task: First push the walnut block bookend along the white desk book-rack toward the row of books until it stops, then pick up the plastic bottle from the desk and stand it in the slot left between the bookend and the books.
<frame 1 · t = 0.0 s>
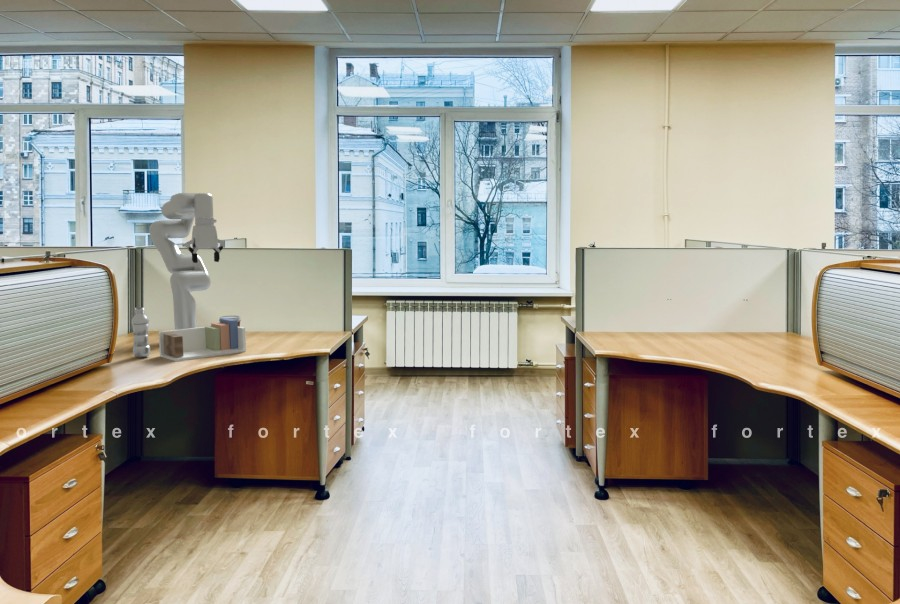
hand: (206, 262, 307), 37 cm above the table, tool pointing down, fingers open, 9 cm apart
bookend: (173, 345, 283), point 5 cm above the table, slide at 0.0 cm
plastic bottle: (142, 357, 286), on the table
disposable coffee cup: (231, 343, 318), on the table
shelf: (203, 353, 293), on the table
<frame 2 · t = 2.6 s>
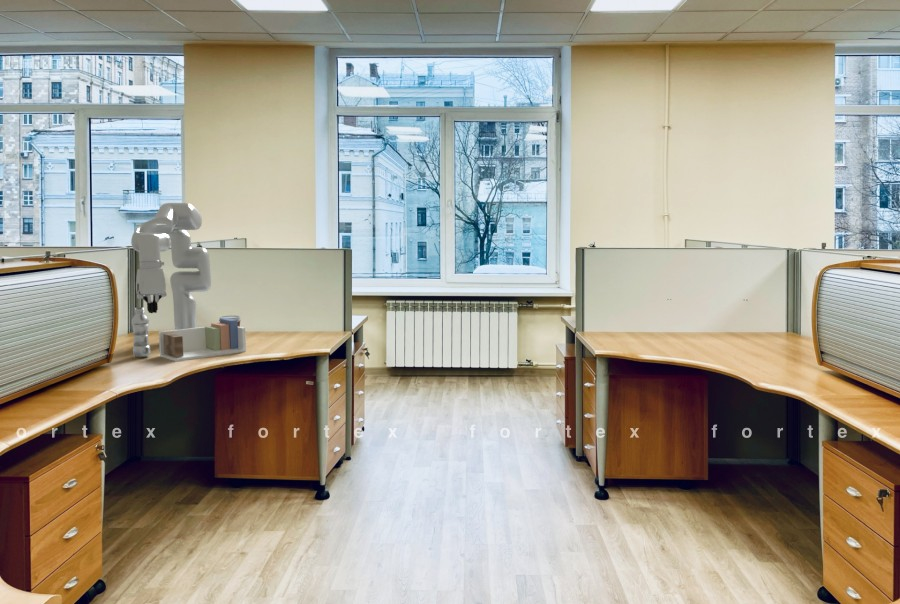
hand: (152, 312, 276), 19 cm above the table, tool pointing down, fingers closed
nothing on the table moved.
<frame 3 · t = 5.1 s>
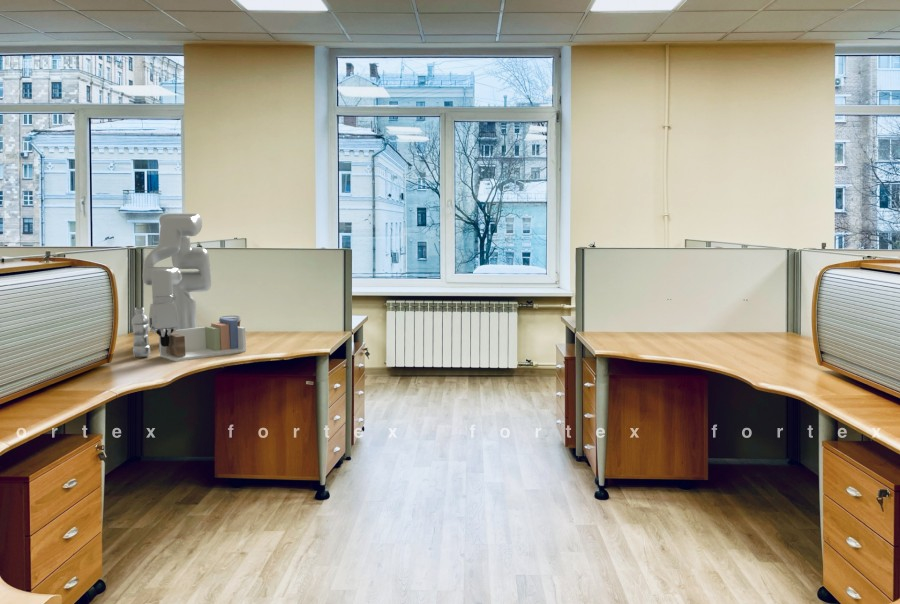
hand: (165, 346, 281), 5 cm above the table, tool pointing down, fingers closed
bookend: (175, 344, 284), point 5 cm above the table, slide at 0.8 cm, touching gripper
everything else where it was.
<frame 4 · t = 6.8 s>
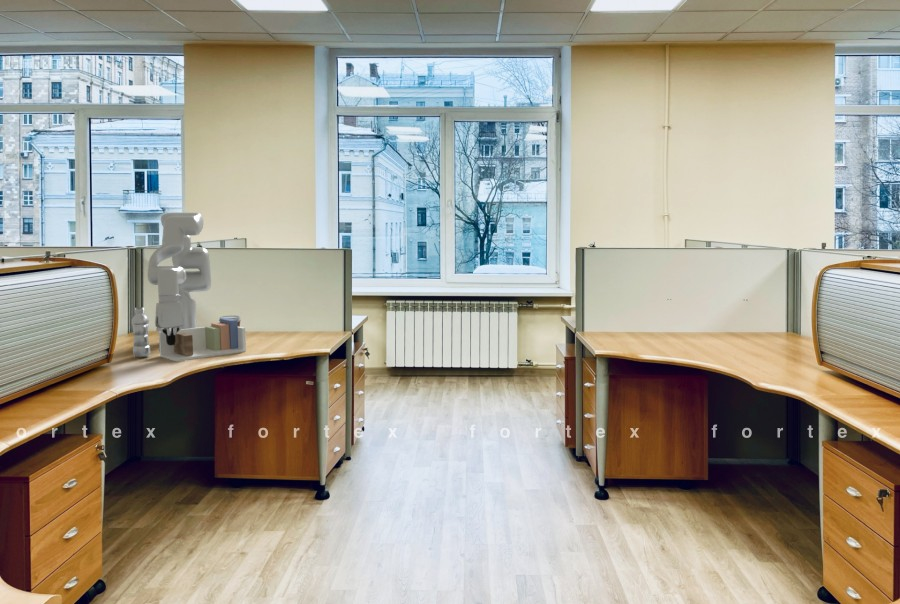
hand: (171, 344, 283), 6 cm above the table, tool pointing down, fingers closed
bookend: (183, 343, 286), point 5 cm above the table, slide at 4.0 cm
everything else where it was.
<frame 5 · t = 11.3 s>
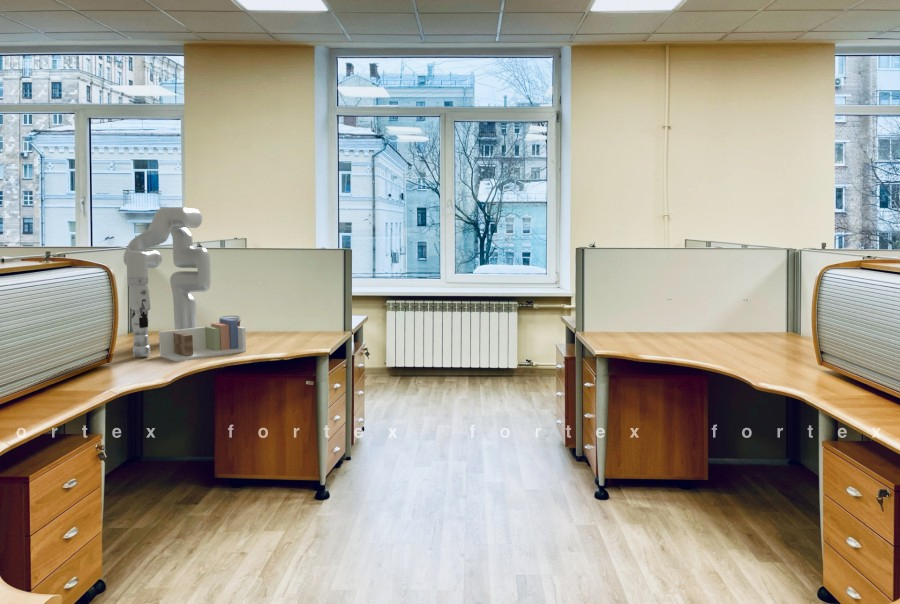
hand: (140, 326, 284), 13 cm above the table, tool pointing down, fingers closed on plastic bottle, 6 cm apart
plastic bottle: (142, 357, 286), on the table, touching gripper
everything else where it was.
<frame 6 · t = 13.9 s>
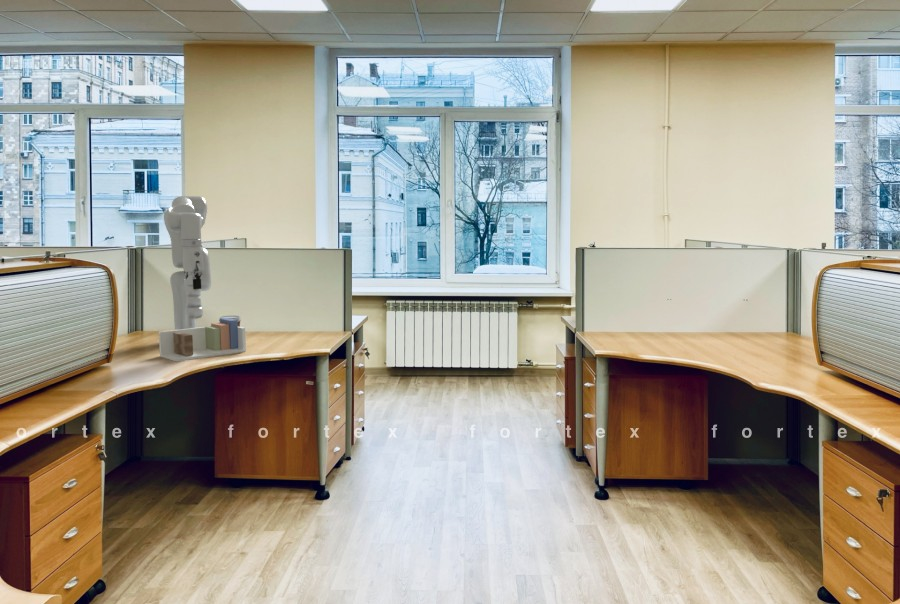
hand: (193, 287, 288), 28 cm above the table, tool pointing down, fingers closed on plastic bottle, 6 cm apart
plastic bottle: (194, 319, 289), point 15 cm above the table, touching gripper
everything else where it was.
when the fingers open (15 cm above the table, at t = 17.0 s): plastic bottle drops 1 cm, resting on shelf.
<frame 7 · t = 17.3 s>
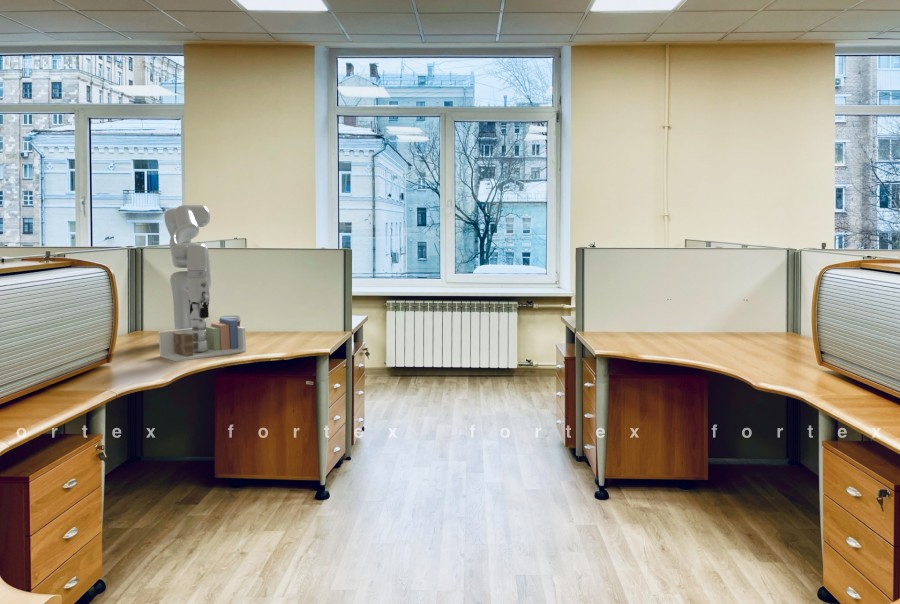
hand: (199, 316, 289), 16 cm above the table, tool pointing down, fingers open, 9 cm apart
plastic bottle: (200, 352, 291), point 1 cm above the table, touching shelf
everything else where it was.
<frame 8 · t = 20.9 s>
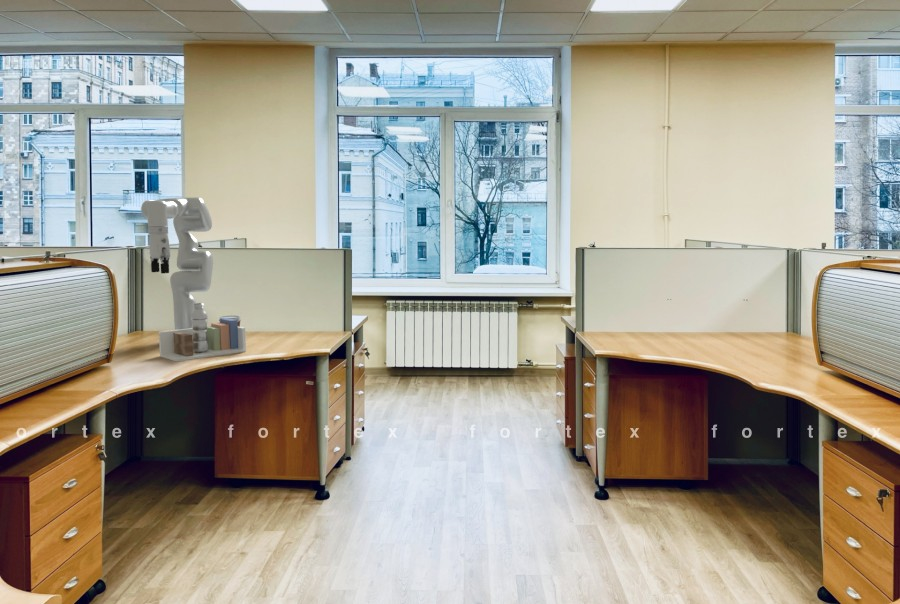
hand: (160, 272, 293), 33 cm above the table, tool pointing down, fingers open, 9 cm apart
nothing on the table moved.
at the end: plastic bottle inside the target area on the shelf (0.5 cm from its centre), point 0.8 cm above the shelf's base; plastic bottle tilted 0°; bookend slide at 4.0 cm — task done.
